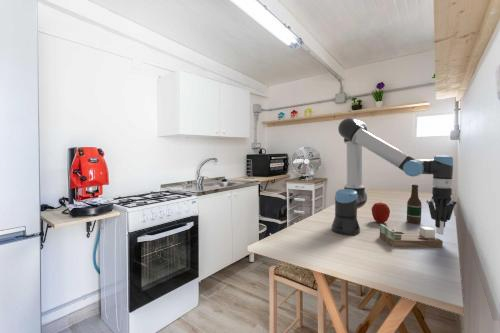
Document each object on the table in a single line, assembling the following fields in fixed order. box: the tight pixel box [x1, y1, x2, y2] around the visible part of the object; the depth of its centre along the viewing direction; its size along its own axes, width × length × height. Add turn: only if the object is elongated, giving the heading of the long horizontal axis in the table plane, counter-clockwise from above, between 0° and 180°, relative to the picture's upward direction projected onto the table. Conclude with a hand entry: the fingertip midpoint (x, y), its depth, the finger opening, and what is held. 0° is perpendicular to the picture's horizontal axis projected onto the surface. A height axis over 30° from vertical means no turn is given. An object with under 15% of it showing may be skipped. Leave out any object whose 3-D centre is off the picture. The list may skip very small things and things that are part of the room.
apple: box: [371, 202, 391, 224], centre depth 154 cm, size 10×10×14 cm
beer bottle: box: [406, 184, 423, 225], centre depth 153 cm, size 8×8×24 cm
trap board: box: [379, 223, 444, 248], centre depth 122 cm, size 13×23×7 cm, turn 86°
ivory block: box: [419, 226, 436, 238], centre depth 121 cm, size 4×4×4 cm
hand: (439, 233), depth 121 cm, fingers closed
